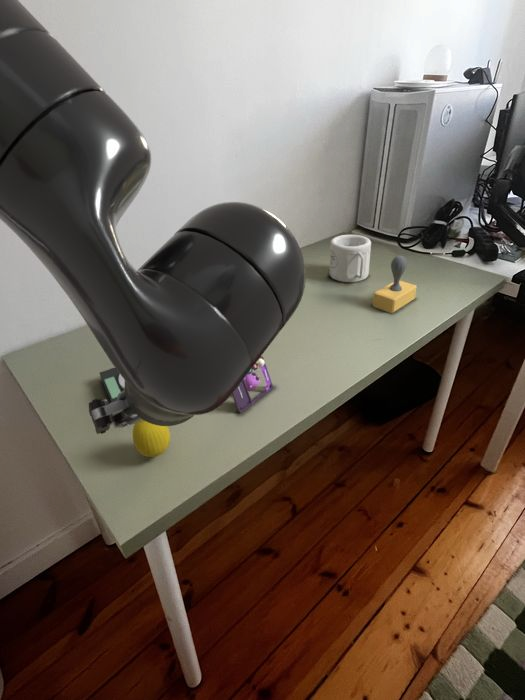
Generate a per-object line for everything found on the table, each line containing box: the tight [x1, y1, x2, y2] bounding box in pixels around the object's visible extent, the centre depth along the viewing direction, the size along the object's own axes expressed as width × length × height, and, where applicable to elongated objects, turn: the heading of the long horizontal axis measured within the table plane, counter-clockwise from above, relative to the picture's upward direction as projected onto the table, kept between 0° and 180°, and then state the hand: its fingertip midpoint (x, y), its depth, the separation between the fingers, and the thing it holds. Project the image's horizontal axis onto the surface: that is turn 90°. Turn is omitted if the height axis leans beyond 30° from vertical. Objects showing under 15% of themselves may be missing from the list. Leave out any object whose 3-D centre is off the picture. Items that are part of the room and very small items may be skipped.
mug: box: [329, 234, 372, 283], centre depth 118 cm, size 14×11×10 cm
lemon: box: [132, 420, 171, 458], centre depth 67 cm, size 6×6×8 cm
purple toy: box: [231, 355, 274, 414], centre depth 79 cm, size 7×5×9 cm
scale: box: [99, 367, 125, 403], centre depth 83 cm, size 15×13×3 cm
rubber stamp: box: [372, 255, 418, 314], centre depth 103 cm, size 10×6×12 cm, turn 133°
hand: (156, 404), depth 51 cm, fingers open, 8 cm apart
